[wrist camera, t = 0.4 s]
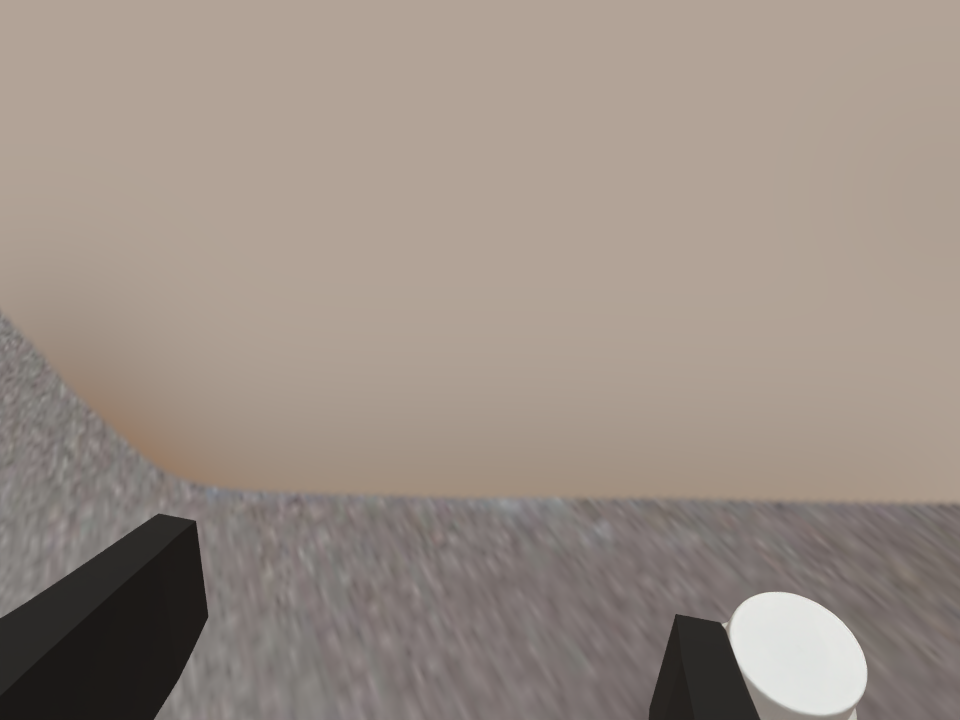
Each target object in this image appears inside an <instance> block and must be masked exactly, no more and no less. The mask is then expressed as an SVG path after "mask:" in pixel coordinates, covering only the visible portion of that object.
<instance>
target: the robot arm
mask: <svg viewBox="0 0 960 720" xmlns="http://www.w3.org/2000/svg"><path fill="white" fill-rule="evenodd" d="M207 618H208V610H207V602H206V594H205V587H204V579H203V571H202V564H201V556H200V548H199V541H198V533H197V525H196V521H194V520H189V519H184V518H179V517H174V516H168V515H163V514H157V515H156V516H154V517H153V518H151V519H150V520H148V521H147V522H145V523H144V524H142V525H141V526H139V527H138V528H136V529H135V530H133V531H132V532H130V533H129V534H127V535H126V536H124V537H123V538H122V539H120V540H119V541H117V542H116V543H114V544H113V545H111V546H110V547H108V548H107V549H105V550H104V551H103V552H101V553H100V554H98V555H97V556H95V557H94V558H92V559H91V560H89V561H88V562H86V563H85V564H83V565H82V566H81V567H79V568H78V569H76V570H75V571H73V572H72V573H70V574H69V575H67V576H66V577H64V578H63V579H61V580H60V581H58V582H57V583H55V584H54V585H52V586H51V587H49V588H48V589H46V590H45V591H43V592H42V593H40V594H38V595H37V596H35V597H34V598H32V599H31V600H29V601H28V602H26V603H25V604H23V605H22V606H20V607H18V608H17V609H15V610H14V611H12V612H10V613H9V614H7V615H5V616H4V617H2V618H0V720H154V718H155V717H156V715H157V713H158V712H159V710H160V709H161V707H162V705H163V704H164V702H165V701H166V699H167V697H168V696H169V694H170V693H171V691H172V689H173V688H174V686H175V684H176V683H177V681H178V679H179V678H180V675H181V673H182V671H183V669H184V667H185V665H186V663H187V661H188V659H189V657H190V655H191V653H192V651H193V649H194V647H195V645H196V642H197V640H198V638H199V636H200V634H201V631H202V629H203V627H204V625H205V623H206V621H207ZM649 720H761V719H760V717H759V715H758V712H757V710H756V708H755V705H754V703H753V700H752V698H751V696H750V693H749V691H748V689H747V686H746V683H745V681H744V678H743V676H742V673H741V671H740V668H739V666H738V663H737V660H736V658H735V655H734V652H733V649H732V646H731V644H730V641H729V638H728V635H727V632H726V630H725V628H724V627H723V626H722V624H721V623H719V622H714V621H709V620H704V619H699V618H694V617H689V616H683V615H678V614H676V615H675V619H674V623H673V626H672V630H671V633H670V637H669V641H668V644H667V648H666V651H665V655H664V659H663V662H662V666H661V669H660V673H659V677H658V680H657V684H656V687H655V691H654V695H653V698H652V702H651V705H650V709H649Z"/></svg>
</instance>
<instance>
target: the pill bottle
mask: <svg viewBox="0 0 960 720" xmlns="http://www.w3.org/2000/svg"><path fill="white" fill-rule="evenodd" d="M722 626H723V627H724V628H725V630H726V632H727V635H728V638H729V641H730V644H731V646H732V649H733V652H734V655H735V658H736V660H737V663H738V666H739V668H740V671H741V673H742V676H743V678H744V681H745V683H746V686H747V689H748V691H749V693H750V696H751V698H752V700H753V703H754V705H755V708H756V710H757V712H758V715H759V717H760V719H761V720H857V715H856V709H855V707H856V705H857V704H858V702H859V701H860V699H861V697H862V696H863V693H864V691H865V688H866V682H867V666H866V661H865V657H864V654H863V651H862V649H861V647H860V645H859V644H858V642H857V640H856V639H855V637H854V635H853V634H852V633H851V631H850V630H849V629H848V628H847V627H846V625H845V624H844V623H843V622H842V621H841V620H840V619H839V618H838V617H836V616H835V615H834V614H833V613H831V612H830V611H829V610H827V609H826V608H824V607H822V606H821V605H819V604H818V603H816V602H814V601H811V600H809V599H807V598H804V597H801V596H799V595H796V594H791V593H785V592H767V593H762V594H758V595H755V596H753V597H751V598H749V599H747V600H746V601H744V602H743V603H742V604H741V605H740V606H739V607H738V608H737V609H736V610H735V612H734V614H733V615H732V617H731V619H730V620H729V622H727V623H724V624H722Z"/></svg>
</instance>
